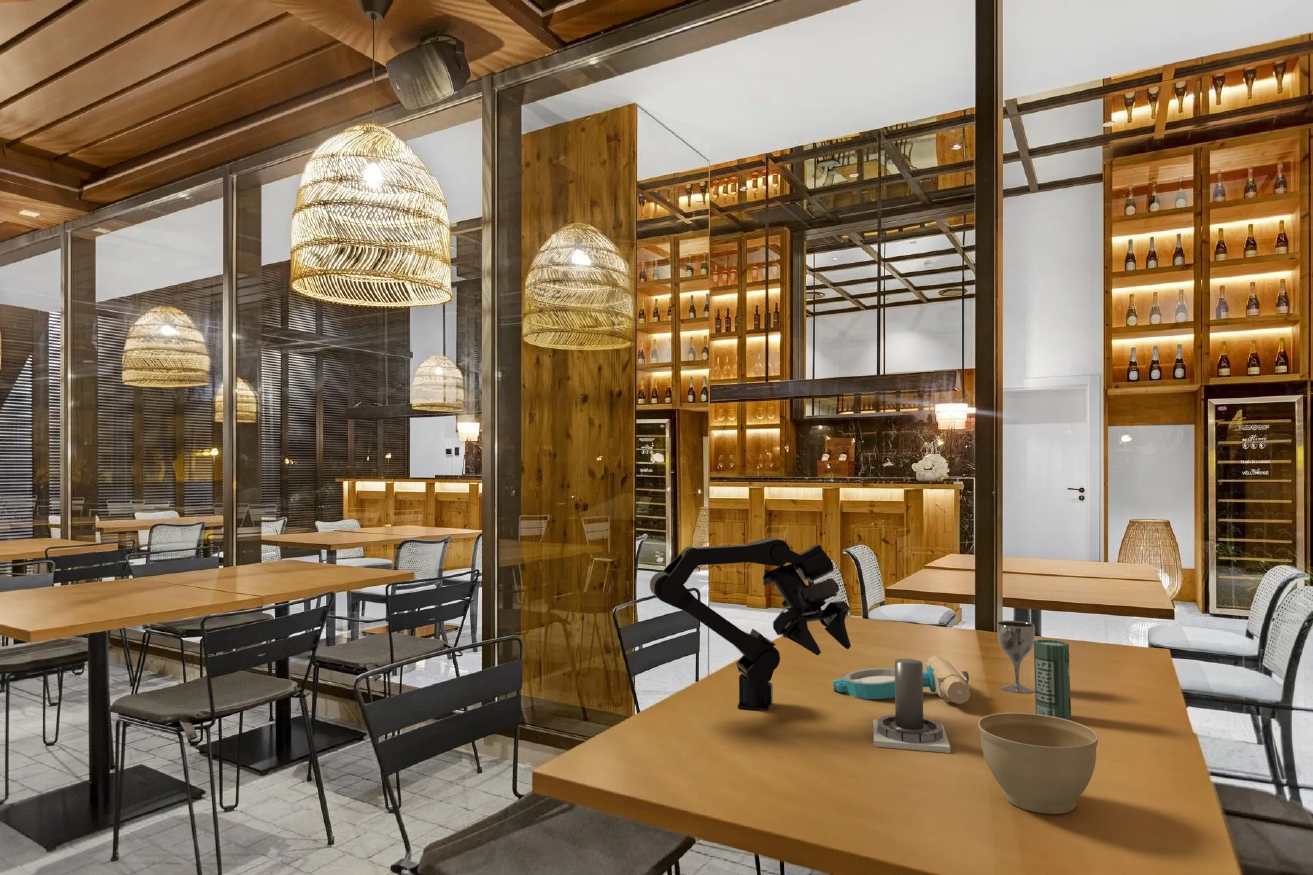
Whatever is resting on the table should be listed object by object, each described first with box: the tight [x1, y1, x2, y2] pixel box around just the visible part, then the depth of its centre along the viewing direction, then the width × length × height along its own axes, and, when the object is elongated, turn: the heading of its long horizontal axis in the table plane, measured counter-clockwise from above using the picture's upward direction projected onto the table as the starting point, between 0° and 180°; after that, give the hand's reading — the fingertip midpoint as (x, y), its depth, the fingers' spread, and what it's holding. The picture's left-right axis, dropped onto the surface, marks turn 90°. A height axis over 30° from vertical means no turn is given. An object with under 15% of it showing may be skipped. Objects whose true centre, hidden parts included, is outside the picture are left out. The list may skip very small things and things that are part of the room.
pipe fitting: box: [890, 658, 929, 733], centre depth 143 cm, size 7×7×13 cm
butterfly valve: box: [831, 655, 971, 705], centre depth 173 cm, size 27×7×30 cm
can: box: [1033, 639, 1072, 721], centre depth 155 cm, size 6×6×15 cm
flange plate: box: [872, 714, 951, 754], centre depth 142 cm, size 13×13×2 cm
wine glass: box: [996, 620, 1036, 694], centre depth 176 cm, size 8×8×15 cm
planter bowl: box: [977, 712, 1099, 815], centre depth 114 cm, size 16×16×11 cm
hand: (834, 650), depth 155 cm, fingers open, 9 cm apart
